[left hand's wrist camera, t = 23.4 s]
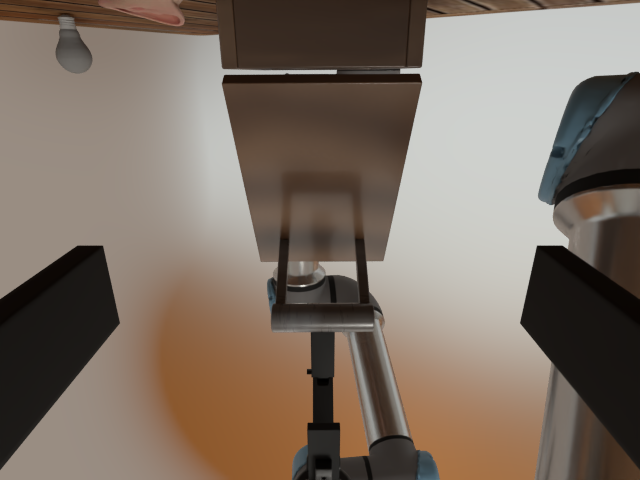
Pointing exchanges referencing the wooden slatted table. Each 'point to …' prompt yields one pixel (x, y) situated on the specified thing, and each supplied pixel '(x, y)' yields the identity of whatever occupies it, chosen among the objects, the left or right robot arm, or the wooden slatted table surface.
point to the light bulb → (72, 47)
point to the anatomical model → (149, 9)
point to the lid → (322, 177)
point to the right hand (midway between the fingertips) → (323, 370)
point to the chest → (321, 34)
